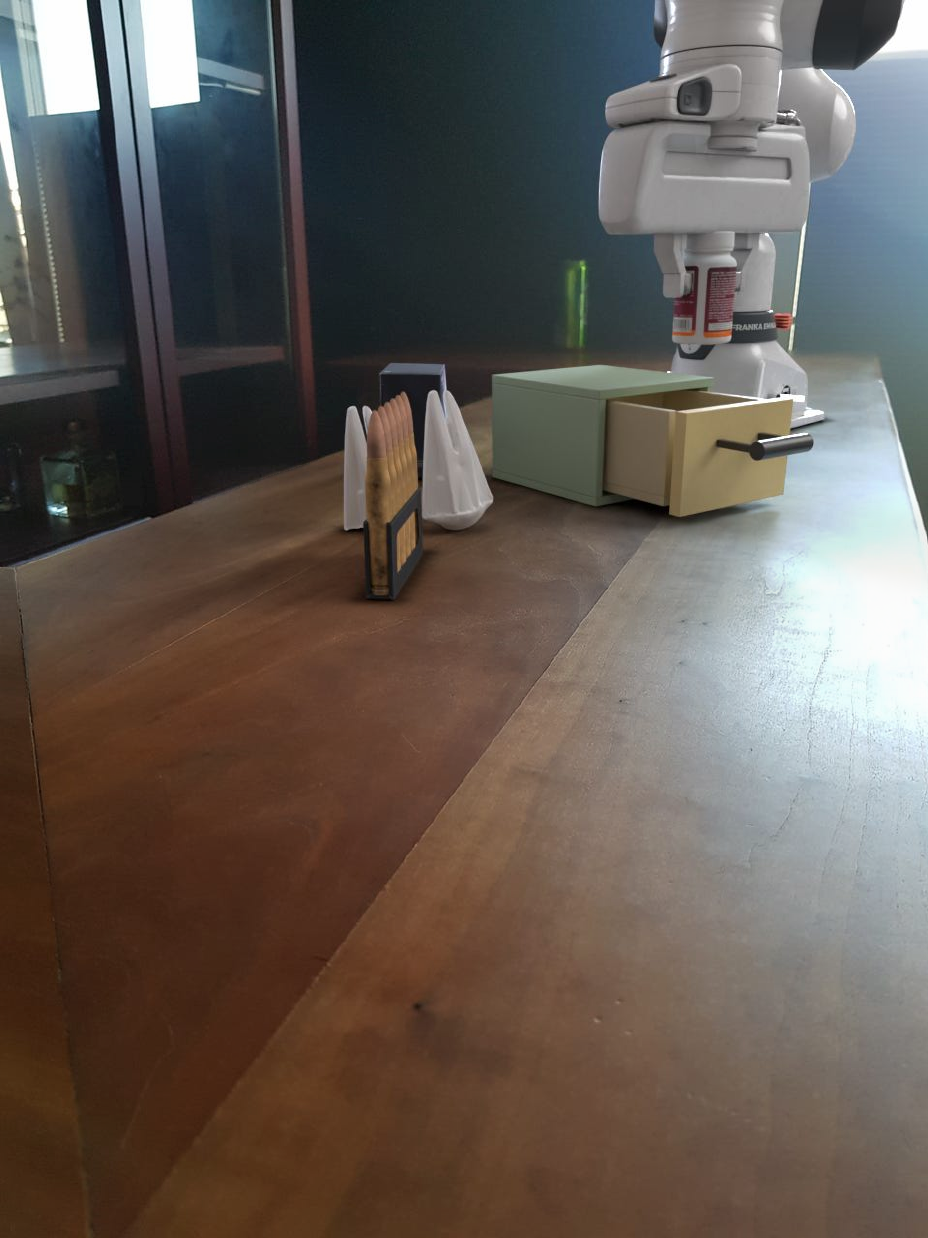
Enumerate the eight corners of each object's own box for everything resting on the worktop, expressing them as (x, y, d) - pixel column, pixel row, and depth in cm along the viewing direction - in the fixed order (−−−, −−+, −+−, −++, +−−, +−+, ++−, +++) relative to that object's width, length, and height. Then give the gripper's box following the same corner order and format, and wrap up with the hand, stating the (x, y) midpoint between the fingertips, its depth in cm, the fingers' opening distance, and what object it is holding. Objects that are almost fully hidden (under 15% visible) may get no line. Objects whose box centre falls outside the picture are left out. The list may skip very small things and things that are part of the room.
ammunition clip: (399, 552, 71) (393, 389, 67) (423, 552, 71) (418, 389, 67) (365, 599, 61) (356, 412, 57) (393, 600, 61) (385, 412, 57)
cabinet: (706, 485, 91) (714, 377, 87) (595, 506, 84) (599, 390, 80) (597, 460, 103) (600, 364, 99) (492, 477, 96) (491, 374, 92)
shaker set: (494, 522, 79) (494, 386, 75) (487, 535, 75) (486, 393, 71) (355, 518, 81) (348, 385, 77) (341, 531, 77) (333, 392, 73)
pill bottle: (731, 340, 79) (740, 231, 76) (730, 345, 75) (740, 230, 72) (673, 339, 80) (680, 233, 77) (669, 344, 76) (675, 231, 73)
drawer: (832, 505, 79) (845, 404, 76) (727, 530, 72) (736, 420, 69) (663, 468, 94) (668, 382, 91) (563, 485, 87) (565, 394, 85)
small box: (445, 479, 95) (442, 371, 91) (380, 480, 95) (375, 372, 91) (449, 458, 105) (447, 361, 101) (390, 459, 105) (386, 362, 101)
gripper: (773, 115, 79) (758, 290, 84) (588, 98, 68) (582, 299, 73) (839, 105, 74) (818, 292, 79) (650, 85, 64) (640, 302, 69)
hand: (703, 296), depth 76 cm, fingers closed on pill bottle, 5 cm apart
